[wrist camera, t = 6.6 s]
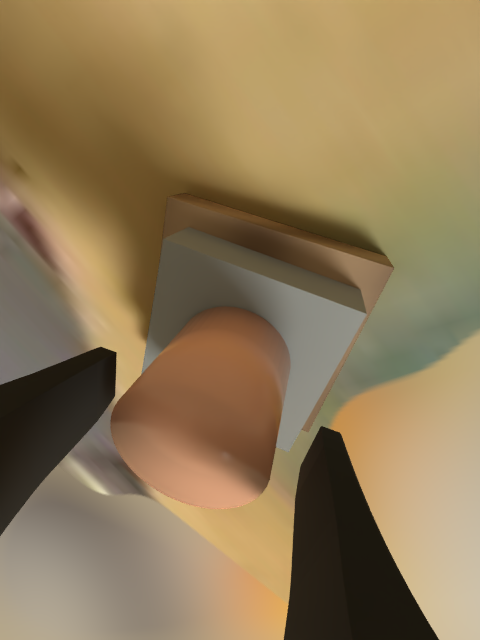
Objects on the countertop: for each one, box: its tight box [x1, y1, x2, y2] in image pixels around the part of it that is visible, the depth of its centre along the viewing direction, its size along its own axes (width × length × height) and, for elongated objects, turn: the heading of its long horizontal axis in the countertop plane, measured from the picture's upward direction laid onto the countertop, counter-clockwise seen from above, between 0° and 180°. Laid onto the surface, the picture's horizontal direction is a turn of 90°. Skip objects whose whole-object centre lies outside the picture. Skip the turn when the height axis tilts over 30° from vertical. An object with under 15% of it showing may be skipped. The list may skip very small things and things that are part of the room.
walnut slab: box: [159, 193, 394, 432], centre depth 17 cm, size 10×10×2 cm
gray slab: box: [142, 227, 367, 452], centre depth 15 cm, size 8×8×2 cm
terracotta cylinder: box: [111, 306, 291, 509], centre depth 11 cm, size 5×5×5 cm
